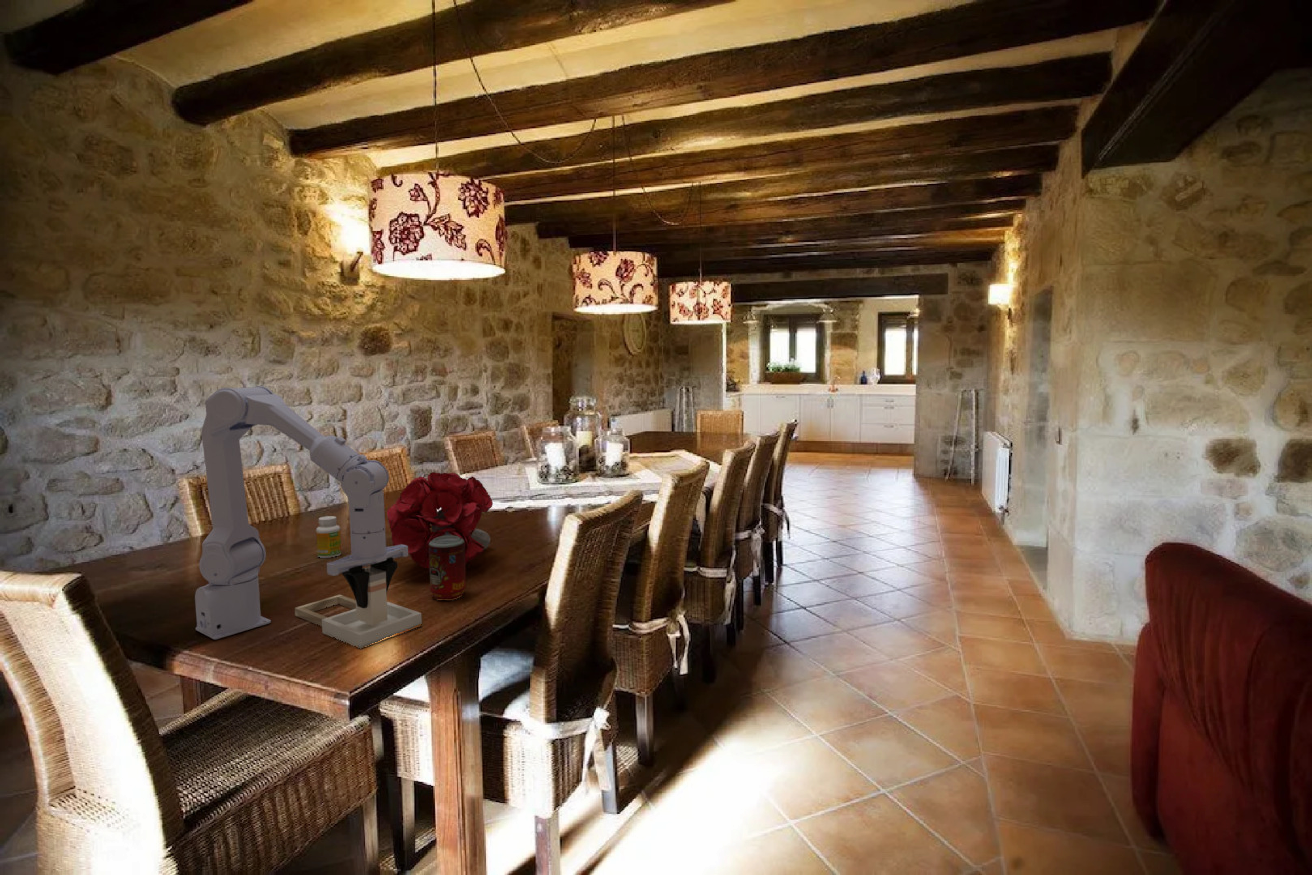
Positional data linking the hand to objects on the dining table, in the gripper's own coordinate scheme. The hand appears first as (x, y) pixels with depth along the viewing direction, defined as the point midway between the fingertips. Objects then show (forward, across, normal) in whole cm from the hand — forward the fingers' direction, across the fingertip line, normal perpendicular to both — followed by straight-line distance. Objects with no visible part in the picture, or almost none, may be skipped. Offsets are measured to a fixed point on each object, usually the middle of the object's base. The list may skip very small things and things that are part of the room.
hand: (371, 603), depth 119 cm
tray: (+5, 0, 0) cm, 5 cm away
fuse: (+3, 0, 0) cm, 3 cm away
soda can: (+5, +19, +3) cm, 20 cm away
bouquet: (+5, +33, +20) cm, 39 cm away
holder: (+5, 0, +13) cm, 14 cm away
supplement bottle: (+5, +21, +52) cm, 56 cm away
